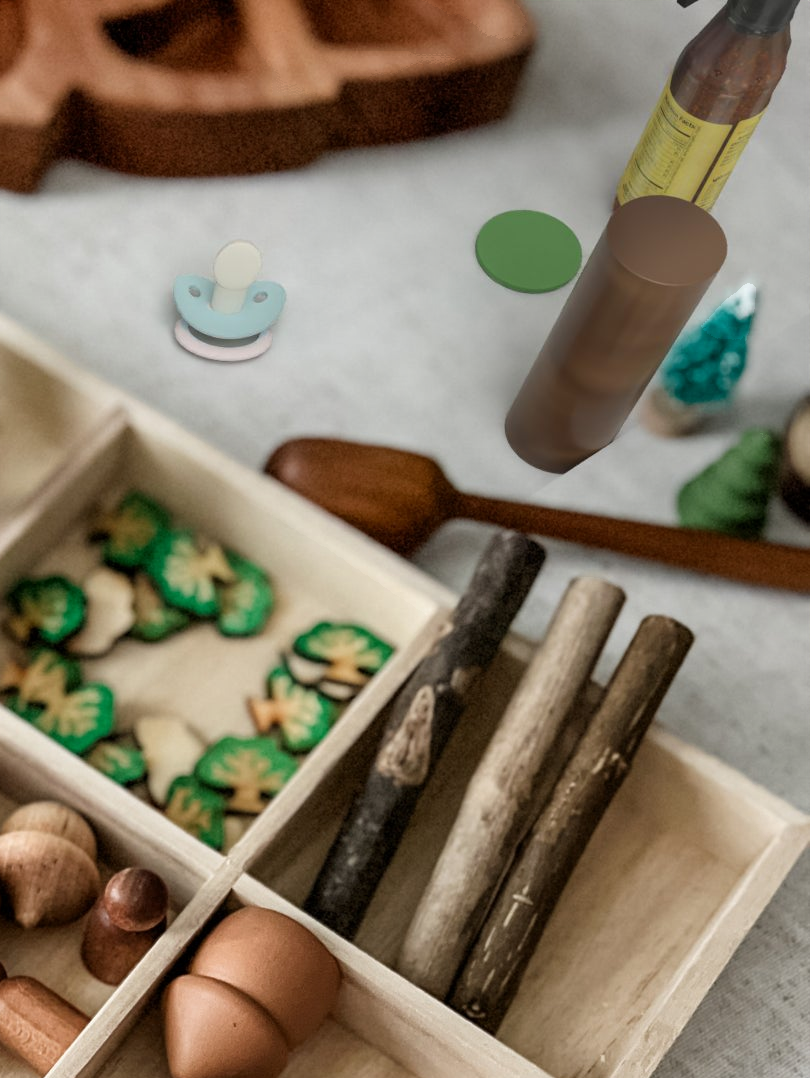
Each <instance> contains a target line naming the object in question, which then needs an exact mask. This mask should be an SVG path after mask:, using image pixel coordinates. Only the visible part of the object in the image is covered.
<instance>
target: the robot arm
mask: <svg viewBox="0 0 810 1078" xmlns="http://www.w3.org/2000/svg"><path fill="white" fill-rule="evenodd" d="M696 2H699V0H676V3H677V4H678V5H679V6H680V7H681V8H683V9H686V8H688V7H690V6H692V5H693V4H695V3H696Z"/></svg>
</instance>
